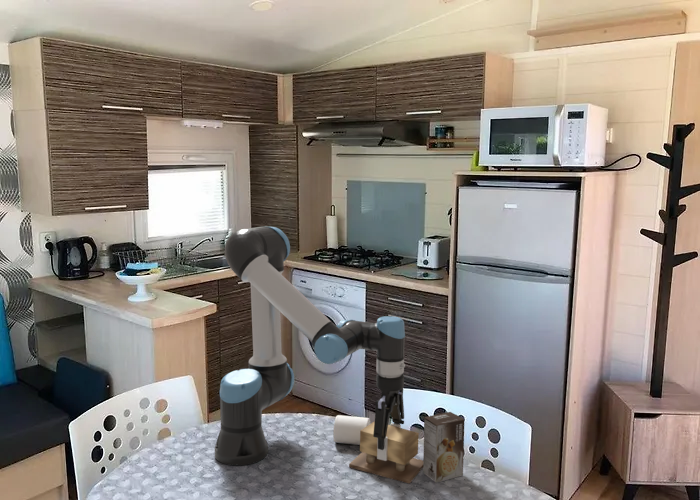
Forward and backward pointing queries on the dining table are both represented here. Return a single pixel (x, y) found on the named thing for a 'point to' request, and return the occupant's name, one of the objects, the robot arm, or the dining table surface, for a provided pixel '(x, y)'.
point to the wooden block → (391, 443)
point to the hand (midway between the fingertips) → (389, 452)
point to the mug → (349, 429)
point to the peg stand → (387, 467)
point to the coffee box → (443, 446)
